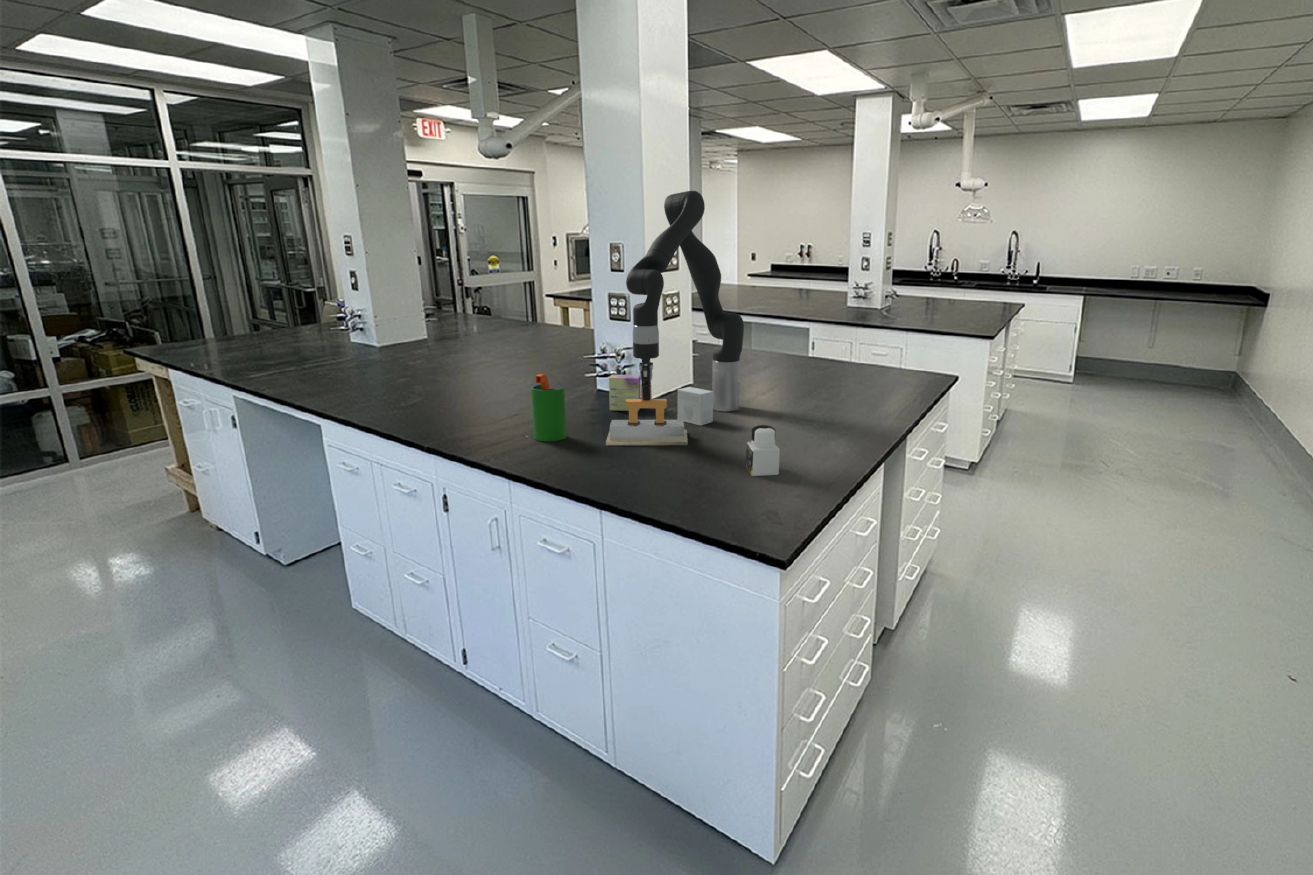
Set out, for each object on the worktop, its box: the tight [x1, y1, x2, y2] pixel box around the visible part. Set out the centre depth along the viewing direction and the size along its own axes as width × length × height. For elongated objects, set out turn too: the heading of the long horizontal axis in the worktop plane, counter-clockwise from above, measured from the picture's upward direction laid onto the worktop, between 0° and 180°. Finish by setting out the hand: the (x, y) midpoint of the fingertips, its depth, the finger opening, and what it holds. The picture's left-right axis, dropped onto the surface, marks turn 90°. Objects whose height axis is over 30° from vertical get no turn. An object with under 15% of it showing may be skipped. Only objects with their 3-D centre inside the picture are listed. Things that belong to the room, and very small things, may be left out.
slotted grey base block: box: [605, 419, 689, 446], centre depth 196 cm, size 24×12×5 cm, turn 89°
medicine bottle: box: [745, 424, 781, 477], centre depth 169 cm, size 7×7×12 cm
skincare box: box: [676, 386, 714, 427], centre depth 213 cm, size 10×6×10 cm, turn 47°
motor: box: [530, 373, 567, 442], centre depth 197 cm, size 10×9×20 cm
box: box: [608, 374, 642, 412], centre depth 228 cm, size 10×6×12 cm, turn 84°
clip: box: [626, 386, 668, 423], centre depth 194 cm, size 12×3×11 cm, turn 89°
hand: (646, 398), depth 193 cm, fingers closed on clip, 2 cm apart
